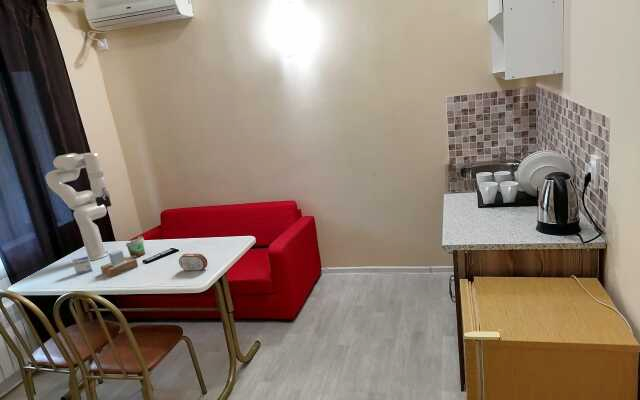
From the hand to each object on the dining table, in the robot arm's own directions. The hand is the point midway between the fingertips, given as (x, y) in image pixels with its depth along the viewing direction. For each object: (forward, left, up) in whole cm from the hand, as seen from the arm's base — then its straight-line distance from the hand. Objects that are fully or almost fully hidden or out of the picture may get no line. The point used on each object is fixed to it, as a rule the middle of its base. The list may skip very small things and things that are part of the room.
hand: (104, 206), depth 254 cm
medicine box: (-4, -18, -33) cm, 37 cm away
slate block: (+17, -8, -28) cm, 34 cm away
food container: (+6, +10, -32) cm, 35 cm away
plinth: (+17, -8, -32) cm, 37 cm away
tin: (+62, +8, -33) cm, 71 cm away
